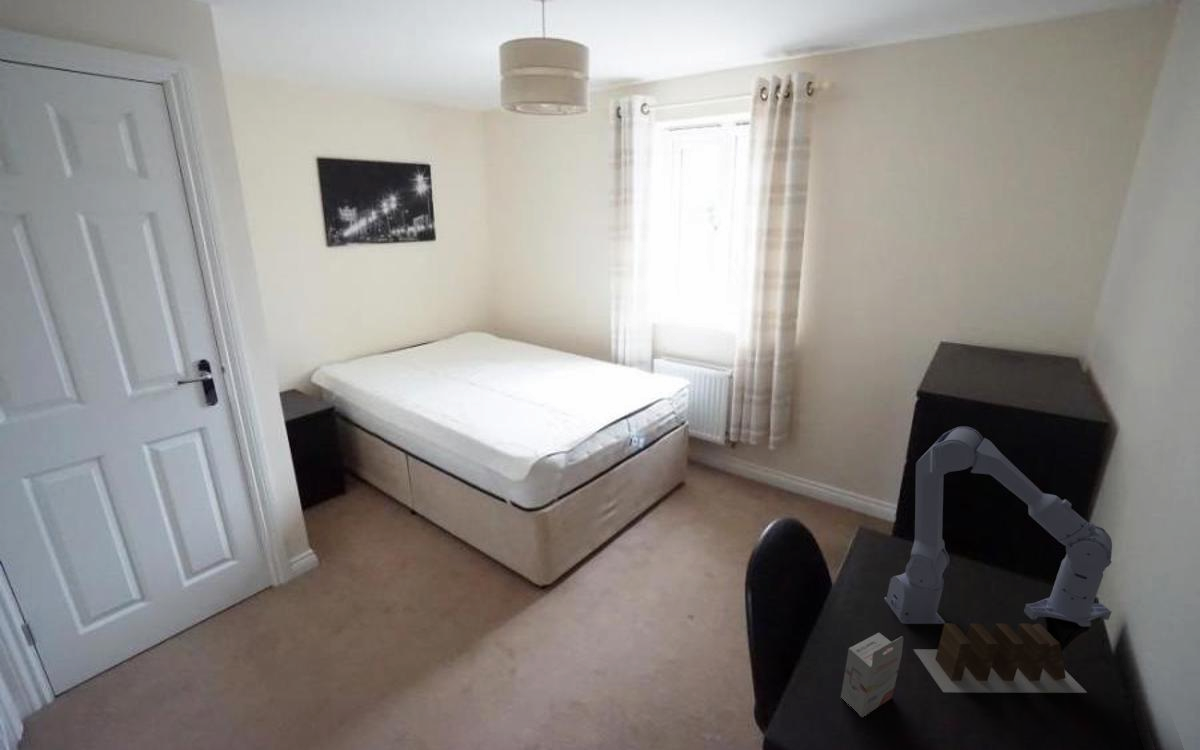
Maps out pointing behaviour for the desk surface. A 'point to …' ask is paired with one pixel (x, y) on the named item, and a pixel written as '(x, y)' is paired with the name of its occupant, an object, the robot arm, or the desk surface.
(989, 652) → the domino
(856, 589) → the desk surface
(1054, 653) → the brown wooden block
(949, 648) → the domino
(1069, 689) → the mat
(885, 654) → the ink cartridge box
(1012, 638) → the domino
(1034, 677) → the domino
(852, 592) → the desk surface
